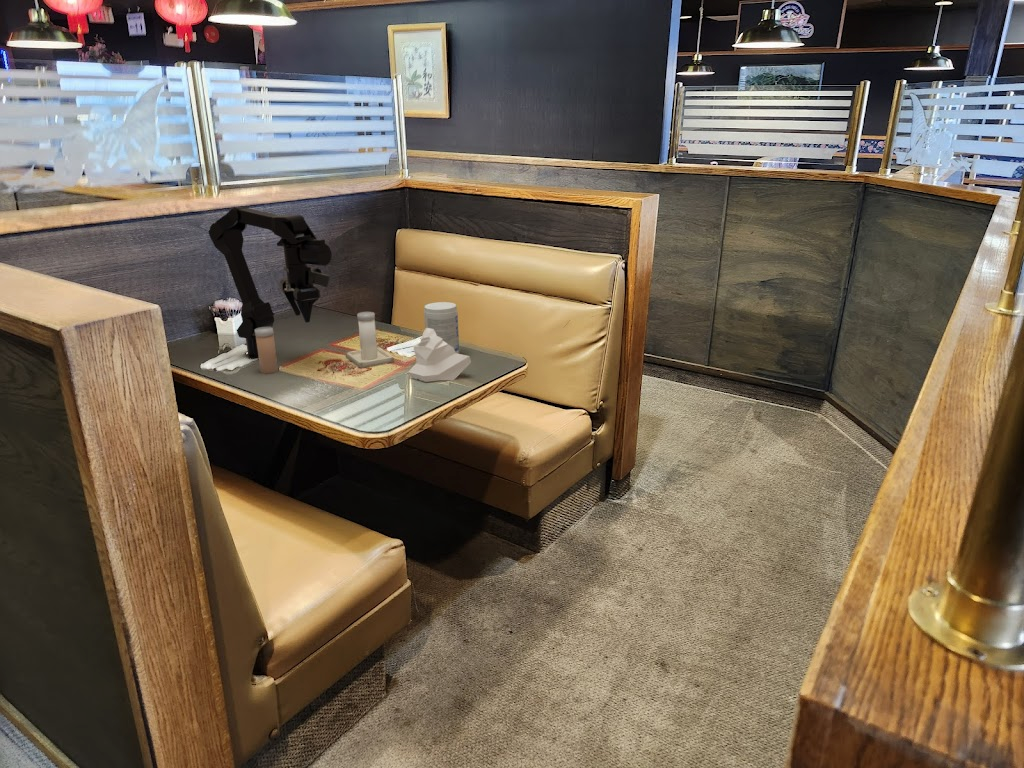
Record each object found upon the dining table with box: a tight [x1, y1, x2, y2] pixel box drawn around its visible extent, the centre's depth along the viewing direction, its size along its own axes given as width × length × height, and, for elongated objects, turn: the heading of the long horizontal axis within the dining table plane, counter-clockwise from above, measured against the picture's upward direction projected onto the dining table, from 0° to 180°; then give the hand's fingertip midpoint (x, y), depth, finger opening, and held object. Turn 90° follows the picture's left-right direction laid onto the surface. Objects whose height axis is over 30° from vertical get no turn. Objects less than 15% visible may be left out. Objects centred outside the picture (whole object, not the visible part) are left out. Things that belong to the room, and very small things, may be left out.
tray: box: [345, 346, 395, 369], centre depth 207 cm, size 12×10×2 cm
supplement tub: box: [423, 301, 460, 354], centre depth 209 cm, size 10×10×15 cm
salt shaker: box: [356, 311, 378, 360], centre depth 205 cm, size 5×5×13 cm
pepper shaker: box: [255, 327, 279, 375], centre depth 197 cm, size 5×5×12 cm
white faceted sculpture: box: [407, 328, 472, 383], centre depth 191 cm, size 12×15×14 cm
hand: (302, 318), depth 201 cm, fingers open, 9 cm apart
